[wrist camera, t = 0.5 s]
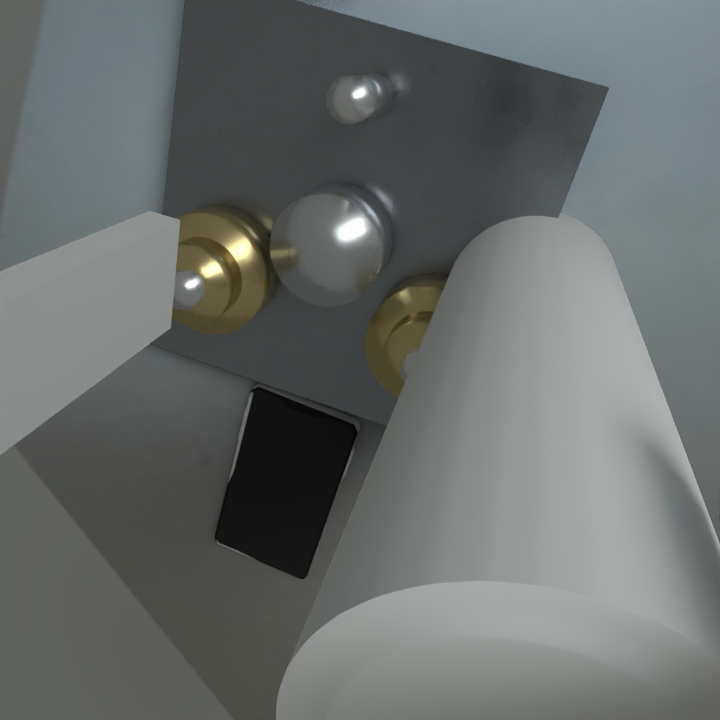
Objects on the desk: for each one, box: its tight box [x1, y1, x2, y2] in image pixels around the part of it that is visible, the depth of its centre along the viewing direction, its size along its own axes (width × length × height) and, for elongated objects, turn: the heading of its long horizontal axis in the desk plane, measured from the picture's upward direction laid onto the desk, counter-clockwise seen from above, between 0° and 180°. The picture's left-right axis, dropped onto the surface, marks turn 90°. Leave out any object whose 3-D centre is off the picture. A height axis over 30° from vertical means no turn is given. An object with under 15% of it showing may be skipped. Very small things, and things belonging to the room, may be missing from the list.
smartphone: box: [215, 382, 361, 579], centre depth 48 cm, size 8×1×15 cm
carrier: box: [150, 0, 609, 426], centre depth 36 cm, size 22×22×7 cm
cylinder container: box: [276, 213, 720, 720], centre depth 25 cm, size 9×9×30 cm
